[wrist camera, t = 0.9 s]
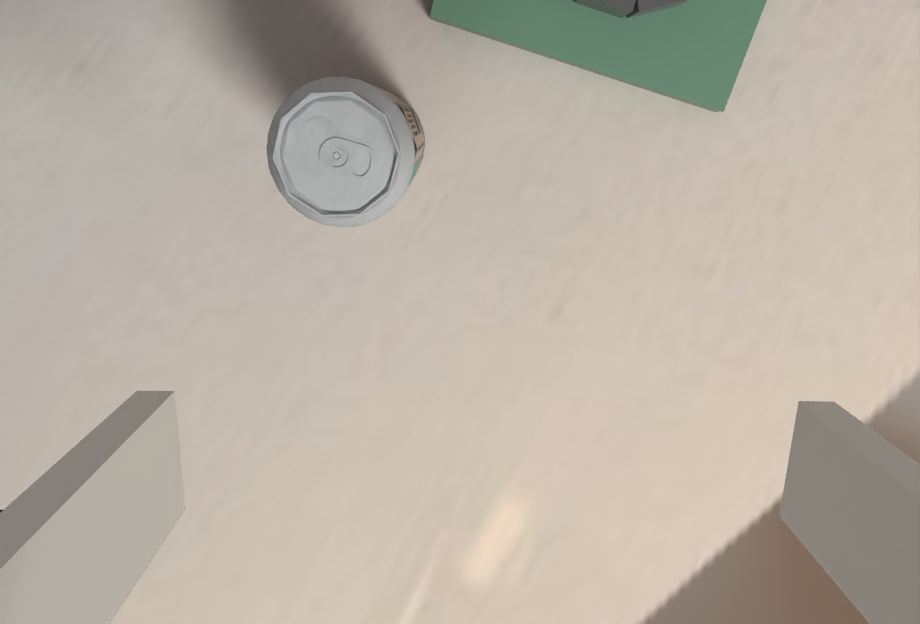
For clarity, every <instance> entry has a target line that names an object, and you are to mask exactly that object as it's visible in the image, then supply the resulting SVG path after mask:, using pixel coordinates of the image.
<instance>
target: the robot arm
mask: <svg viewBox="0 0 920 624" xmlns="http://www.w3.org/2000/svg"><path fill="white" fill-rule="evenodd" d="M184 510H185V502H184V490H183V479H182V468H181V457H180V446H179V435H178V424H177V413H176V402H175V391H136V392H135V393H134V394H133V395H132V396H131V397H130V398H128V399H127V400H126V401H125V402H124V403H123V404H122V405H121V406H120V407H118V408H117V409H116V410H115V411H114V412H113V413H112V414H111V415H109V416H108V417H107V418H106V419H105V420H104V421H103V422H102V423H100V424H99V425H98V426H97V427H96V428H95V429H94V430H93V431H92V432H90V433H89V434H88V435H87V436H86V437H85V438H84V439H83V440H81V441H80V442H79V443H78V444H77V445H76V446H75V447H74V448H73V449H71V450H70V451H69V452H68V453H67V454H66V455H65V456H64V457H62V458H61V459H60V460H59V461H58V462H57V463H56V464H55V465H53V466H52V467H51V468H50V469H49V470H48V471H47V472H46V473H45V474H43V475H42V476H41V477H40V478H39V479H38V480H37V481H36V482H34V483H33V484H32V485H31V486H30V487H29V488H28V489H27V490H26V491H24V492H23V493H22V494H21V495H20V496H19V497H18V498H17V499H15V500H14V501H13V502H12V503H11V504H10V505H9V506H8V507H6V508H5V509H4V510H0V624H110V622H111V621H112V619H113V618H114V616H115V615H116V613H117V612H118V610H119V609H120V607H121V606H122V604H123V603H124V601H125V600H126V598H127V597H128V595H129V594H130V592H131V591H132V589H133V588H134V586H135V585H136V583H137V582H138V580H139V579H140V577H141V575H142V574H143V572H144V571H145V569H146V568H147V566H148V565H149V563H150V562H151V560H152V559H153V557H154V556H155V554H156V553H157V551H158V550H159V548H160V547H161V545H162V544H163V542H164V541H165V539H166V538H167V536H168V535H169V533H170V531H171V530H172V528H173V527H174V525H175V524H176V522H177V521H178V519H179V518H180V516H181V515H182V513H183V512H184ZM779 516H780V517H781V518H782V520H783V521H784V522H785V523H786V524H787V526H788V527H789V528H790V529H791V530H792V531H793V533H794V534H795V535H796V536H797V538H798V539H799V540H800V541H801V542H802V543H803V544H804V546H805V547H806V548H807V549H808V551H809V552H810V553H811V554H812V555H813V557H814V558H815V559H816V560H817V561H818V563H819V564H820V565H821V566H822V567H823V569H824V570H825V571H826V572H827V573H828V575H829V576H830V577H831V578H832V579H833V580H834V582H835V583H836V584H837V585H838V587H839V588H840V589H841V590H842V591H843V592H844V594H845V595H846V596H847V597H848V598H849V600H850V601H851V602H852V603H853V604H854V606H855V607H856V608H857V609H858V610H859V611H860V613H861V614H862V615H863V616H864V617H865V618H866V620H867V621H868V622H869V623H870V624H920V464H918V463H917V462H915V461H914V460H913V459H911V458H910V457H909V456H907V455H906V454H905V453H903V452H902V451H901V450H899V449H898V448H896V447H895V446H894V445H892V444H891V443H890V442H888V441H887V440H886V439H884V438H883V437H881V436H880V435H879V434H877V433H876V432H875V431H873V430H872V429H871V428H869V427H868V426H866V425H865V424H864V423H862V422H861V421H860V420H858V419H857V418H856V417H854V416H853V415H851V414H850V413H849V412H847V411H846V410H845V409H843V408H842V407H841V406H839V405H838V404H836V403H835V402H814V401H799V402H798V408H797V414H796V420H795V426H794V432H793V438H792V444H791V450H790V456H789V462H788V468H787V473H786V479H785V485H784V491H783V497H782V503H781V509H780V515H779Z"/></svg>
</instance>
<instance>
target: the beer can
mask: <svg viewBox="0 0 920 624" xmlns="http://www.w3.org/2000/svg"><path fill="white" fill-rule="evenodd" d="M424 147H425V137H424V132H423V128H422V125H421V123H420V120H419V118H418V116H417V114H416V113H415V111H414V110H413V108H412V107H410V106H409V105H408V104H407V103H406V102H405V101H404V100H403V99H401V98H400V97H398V96H397V95H395V94H393V93H390V92H388V91H386V90H383V89H381V88H379V87H376V86H374V85H371V84H369V83H367V82H364V81H362V80H360V79H354V78H349V77H343V76H342V77H325V78H321V79H317V80H314V81H311V82H309V83H307V84H305V85H303V86H301V87H300V88H299V89H297V90H296V91H295V92H293V93H292V94H291V95H290V96H288V97H287V98H286V99H285V100H284V102H283V103H282V105H281V106H280V108H279V109H278V111H277V112H276V114H275V115H274V118H273V120H272V123H271V126H270V129H269V132H268V142H267V156H268V163H269V169H270V172H271V175H272V177H273V179H274V181H275V183H276V186H277V188H278V190H279V191H280V193H281V194H282V195H283V196H284V198H285V199H286V200H287V202H288V203H289V204H290V205H291V206H292V207H293V208H295V209H296V210H297V211H298V212H300V213H301V214H303V215H304V216H305V217H307V218H309V219H311V220H314V221H316V222H319V223H321V224H324V225H329V226H335V227H356V226H360V225H364V224H367V223H370V222H372V221H375V220H377V219H379V218H380V217H381V216H383V215H384V214H386V213H387V212H388V211H390V210H391V209H392V208H393V207H394V206H395V205H396V204H397V203H398V201H399V200H400V199H401V198H402V197H403V195H404V194H405V192H406V190H407V188H408V186H409V185H410V183H411V181H412V179H413V177H414V176H415V174H416V172H417V170H418V168H419V166H420V163H421V160H422V158H423V152H424Z"/></svg>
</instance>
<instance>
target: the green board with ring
mask: <svg viewBox="0 0 920 624" xmlns="http://www.w3.org/2000/svg"><path fill="white" fill-rule="evenodd" d="M766 1H767V0H434V1H433V5H432V8H431V12H430V19H432V20H435V21H438V22H441V23H444V24H447V25H451V26H454V27H457V28H460V29H463V30H466V31H469V32H472V33H475V34H478V35H481V36H484V37H487V38H490V39H493V40H496V41H499V42H503V43H506V44H509V45H512V46H515V47H518V48H521V49H524V50H527V51H530V52H533V53H536V54H539V55H542V56H545V57H548V58H551V59H555V60H558V61H561V62H564V63H567V64H570V65H573V66H576V67H579V68H582V69H585V70H588V71H591V72H594V73H597V74H600V75H604V76H607V77H610V78H613V79H616V80H619V81H622V82H625V83H628V84H631V85H634V86H637V87H640V88H643V89H646V90H649V91H652V92H656V93H659V94H662V95H665V96H668V97H671V98H674V99H677V100H680V101H683V102H686V103H689V104H692V105H695V106H698V107H701V108H704V109H708V110H711V111H714V112H719V111H724V109H725V106H726V104H727V101H728V99H729V96H730V94H731V91H732V88H733V86H734V83H735V81H736V78H737V75H738V73H739V70H740V68H741V65H742V63H743V60H744V57H745V55H746V52H747V50H748V47H749V44H750V42H751V39H752V37H753V34H754V32H755V29H756V26H757V24H758V21H759V19H760V16H761V13H762V11H763V8H764V6H765V3H766Z"/></svg>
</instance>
